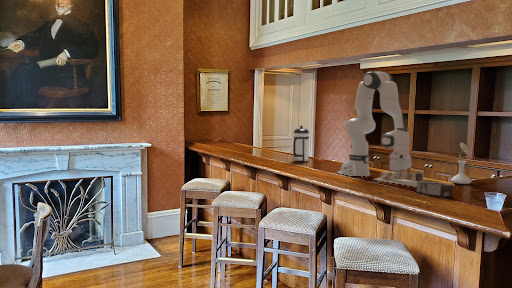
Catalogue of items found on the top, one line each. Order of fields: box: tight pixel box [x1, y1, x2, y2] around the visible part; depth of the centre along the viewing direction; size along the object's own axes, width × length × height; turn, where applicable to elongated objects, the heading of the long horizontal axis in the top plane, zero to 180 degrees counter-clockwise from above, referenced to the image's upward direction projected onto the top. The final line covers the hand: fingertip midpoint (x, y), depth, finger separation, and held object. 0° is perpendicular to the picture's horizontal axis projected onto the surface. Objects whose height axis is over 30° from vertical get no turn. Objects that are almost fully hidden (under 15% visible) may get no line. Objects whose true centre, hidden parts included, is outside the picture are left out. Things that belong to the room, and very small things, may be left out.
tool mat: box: [373, 176, 417, 188], centre depth 255 cm, size 30×12×1 cm, turn 41°
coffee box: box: [416, 179, 453, 199], centre depth 223 cm, size 9×6×16 cm
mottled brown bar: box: [380, 171, 424, 181], centre depth 254 cm, size 26×4×4 cm, turn 40°
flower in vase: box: [450, 142, 472, 185], centre depth 250 cm, size 13×11×25 cm
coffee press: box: [292, 125, 311, 164], centre depth 340 cm, size 17×16×30 cm
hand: (400, 176), depth 254 cm, fingers closed on mottled brown bar, 4 cm apart
